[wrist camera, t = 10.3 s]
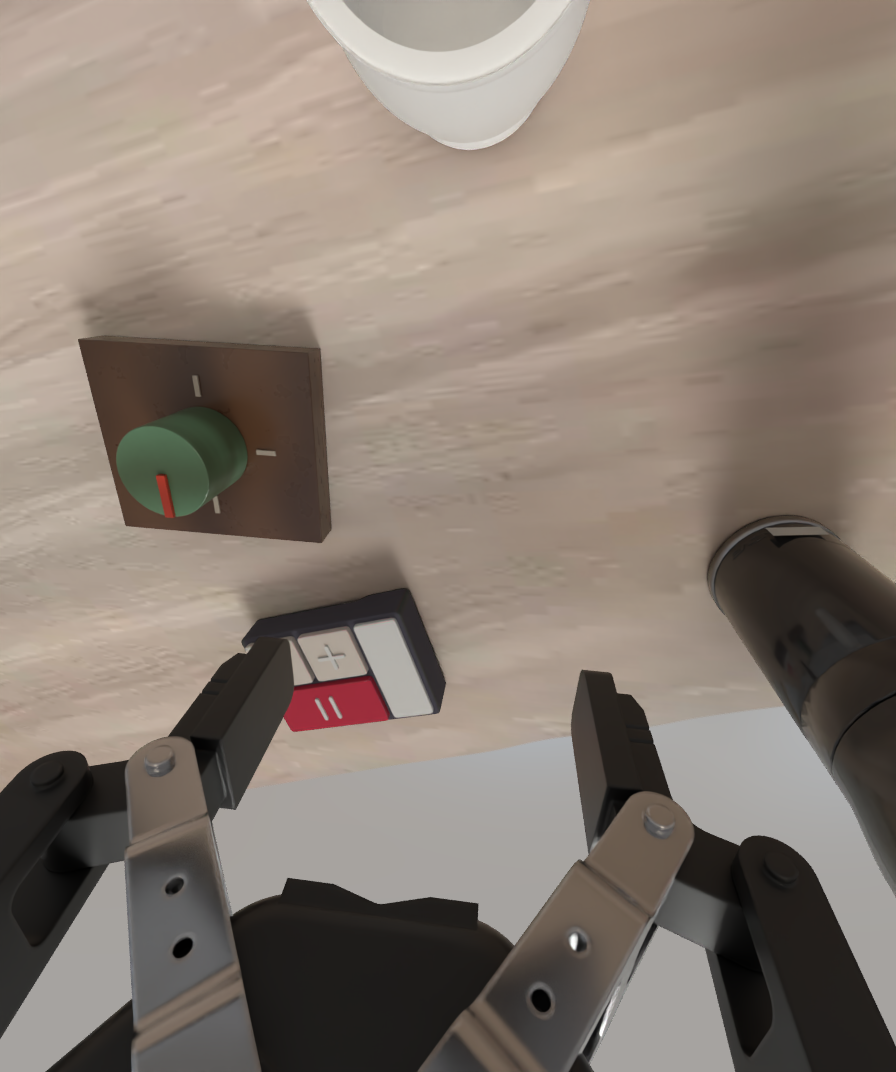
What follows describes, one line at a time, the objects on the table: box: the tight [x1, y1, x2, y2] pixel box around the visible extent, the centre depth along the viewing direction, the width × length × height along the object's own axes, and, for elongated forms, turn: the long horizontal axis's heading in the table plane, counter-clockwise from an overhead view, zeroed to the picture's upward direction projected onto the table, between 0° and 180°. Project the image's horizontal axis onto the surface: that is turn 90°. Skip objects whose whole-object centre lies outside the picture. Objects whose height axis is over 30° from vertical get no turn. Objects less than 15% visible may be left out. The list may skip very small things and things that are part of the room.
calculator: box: [242, 589, 446, 732], centre depth 46 cm, size 11×4×15 cm
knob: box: [116, 407, 248, 518], centre depth 35 cm, size 6×6×6 cm
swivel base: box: [78, 336, 331, 543], centre depth 39 cm, size 16×14×3 cm
